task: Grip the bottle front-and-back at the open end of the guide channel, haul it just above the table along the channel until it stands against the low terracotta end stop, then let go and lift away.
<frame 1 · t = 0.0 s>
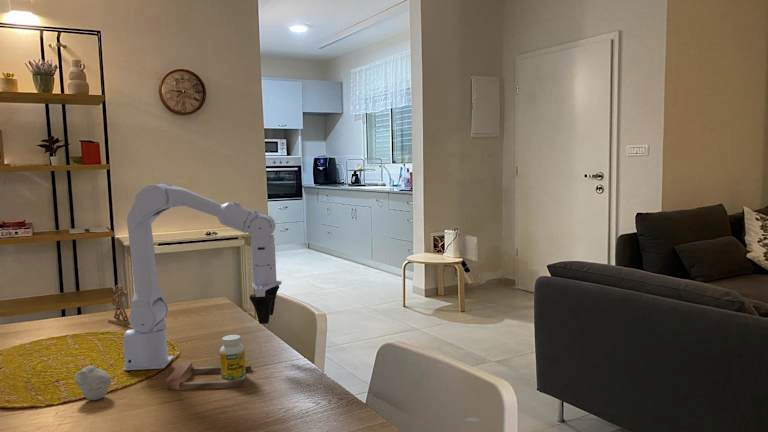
hand: (266, 319, 141), 10 cm above the table, tool pointing down, fingers open, 7 cm apart
supplement bottle: (233, 379, 130), on the table
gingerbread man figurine: (121, 323, 179), on the table
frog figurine: (95, 400, 120), on the table
guide channel: (211, 379, 129), on the table
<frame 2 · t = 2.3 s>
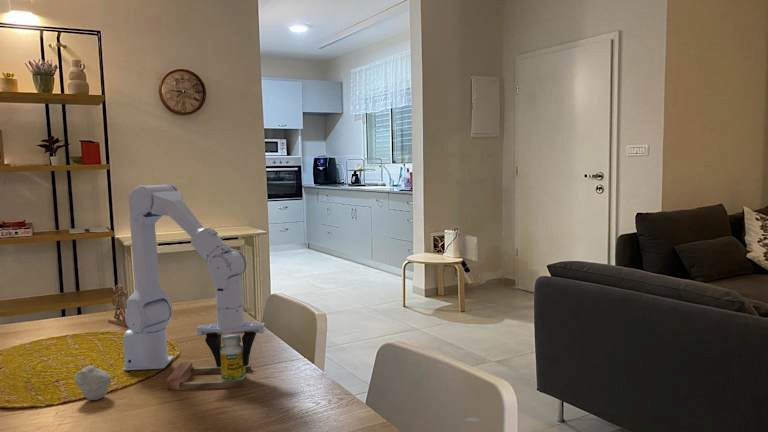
hand: (233, 365, 129), 3 cm above the table, tool pointing down, fingers closed on supplement bottle, 5 cm apart
supplement bottle: (233, 379, 130), on the table, touching gripper
everything else where it was.
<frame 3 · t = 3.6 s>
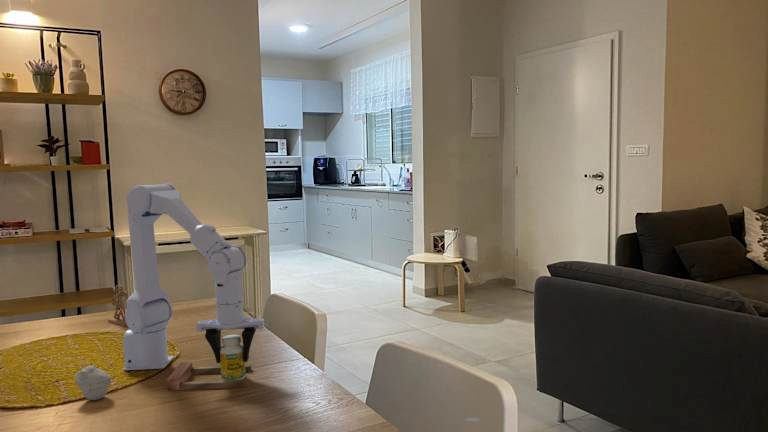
hand: (232, 361, 129), 4 cm above the table, tool pointing down, fingers closed on supplement bottle, 5 cm apart
supplement bottle: (233, 379, 130), on the table, touching gripper
everything else where it was.
when the fingers open (4 cm above the table, at t = 3.9 s): supplement bottle moves 4 cm, on the table.
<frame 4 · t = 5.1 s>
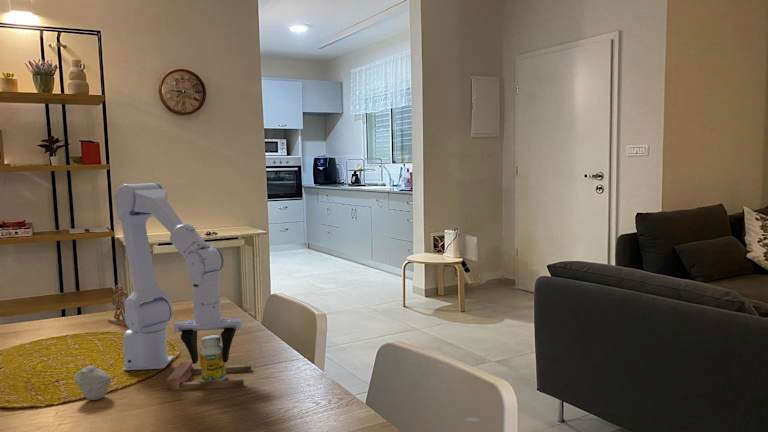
hand: (210, 361, 129), 4 cm above the table, tool pointing down, fingers open, 6 cm apart
supplement bottle: (214, 380, 129), on the table, touching gripper
everything else where it was.
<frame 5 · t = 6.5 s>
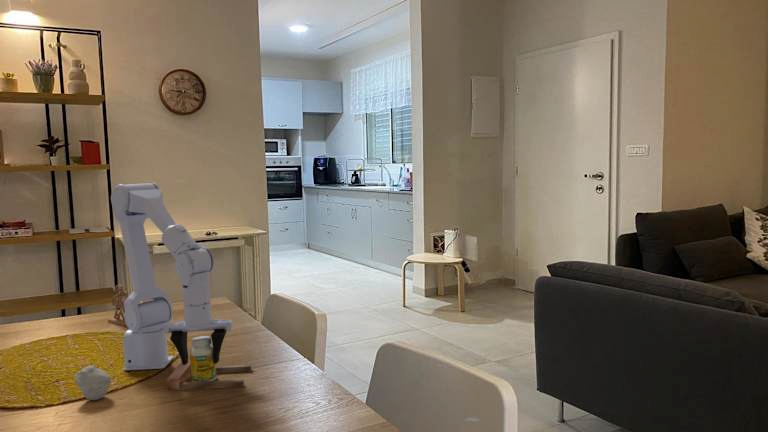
hand: (200, 362, 129), 4 cm above the table, tool pointing down, fingers open, 6 cm apart
supplement bottle: (204, 381, 129), on the table, touching gripper
everything else where it was.
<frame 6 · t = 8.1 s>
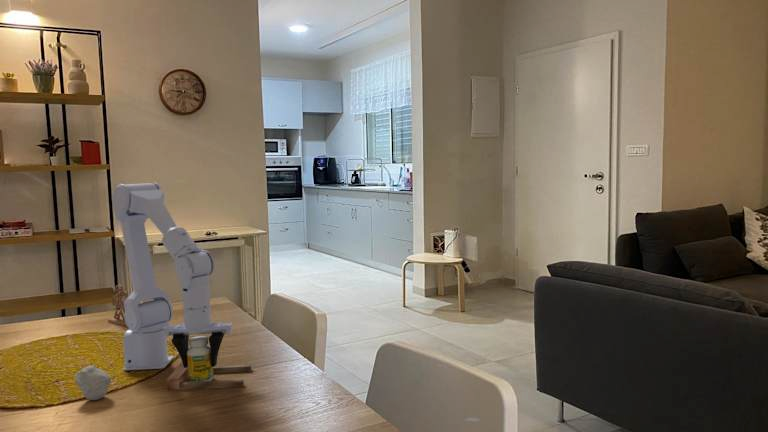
hand: (200, 365, 129), 3 cm above the table, tool pointing down, fingers open, 5 cm apart
supplement bottle: (201, 381, 129), on the table
everything else where it was.
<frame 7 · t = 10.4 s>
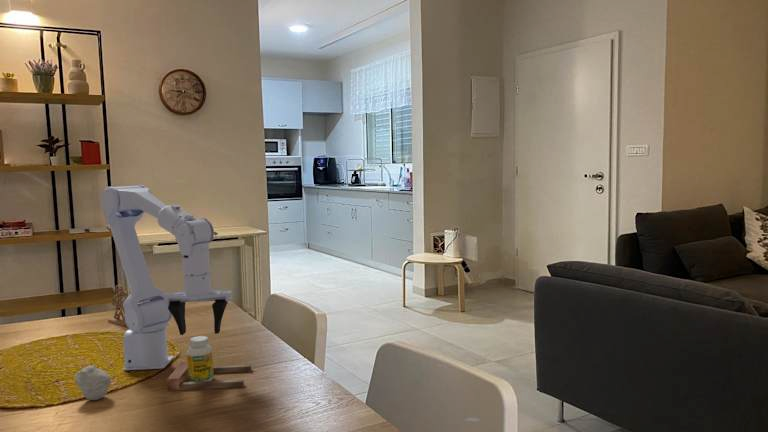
hand: (200, 333, 130), 10 cm above the table, tool pointing down, fingers open, 7 cm apart
nothing on the table moved.
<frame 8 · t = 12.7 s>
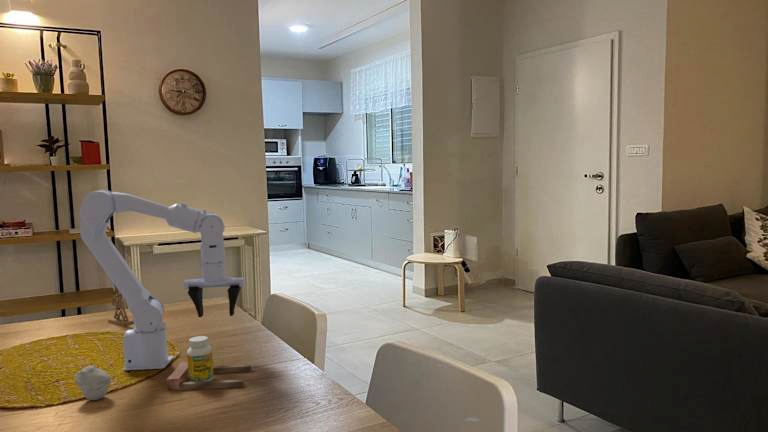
hand: (216, 315, 144), 10 cm above the table, tool pointing down, fingers open, 7 cm apart
nothing on the table moved.
at the end: supplement bottle 0.5 cm from the target spot on the guide channel, point 0.0 cm above the guide channel's base; supplement bottle tilted 0°; the gripper is holding nothing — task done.
